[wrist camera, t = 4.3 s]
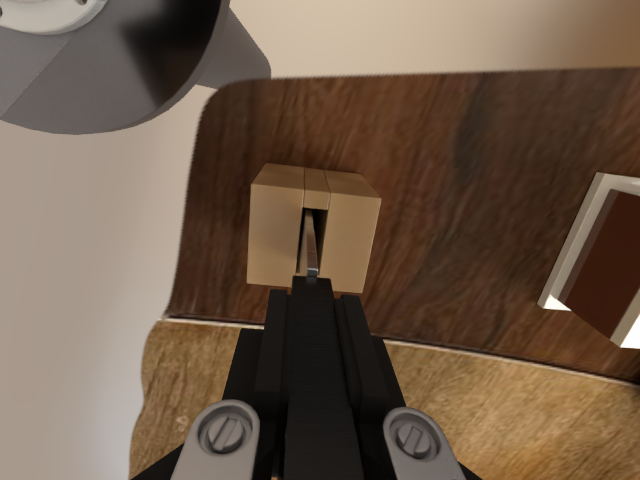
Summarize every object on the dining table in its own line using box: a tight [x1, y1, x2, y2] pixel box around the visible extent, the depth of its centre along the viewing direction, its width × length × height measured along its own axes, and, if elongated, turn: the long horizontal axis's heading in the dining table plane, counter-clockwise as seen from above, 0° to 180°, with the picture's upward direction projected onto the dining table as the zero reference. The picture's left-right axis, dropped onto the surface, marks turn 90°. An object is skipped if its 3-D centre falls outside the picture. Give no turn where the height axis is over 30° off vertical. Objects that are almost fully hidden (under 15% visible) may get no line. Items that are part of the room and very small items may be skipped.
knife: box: [277, 207, 365, 480], centre depth 13 cm, size 1×3×17 cm, turn 173°
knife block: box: [247, 163, 381, 293], centre depth 21 cm, size 7×6×7 cm
